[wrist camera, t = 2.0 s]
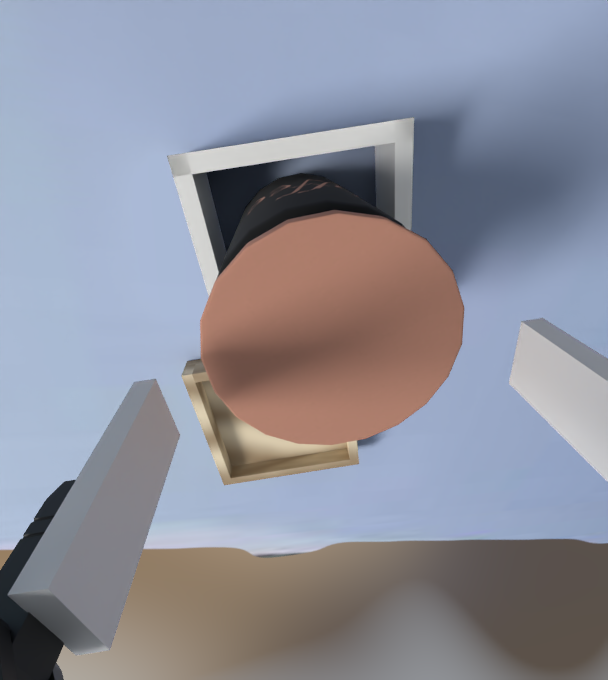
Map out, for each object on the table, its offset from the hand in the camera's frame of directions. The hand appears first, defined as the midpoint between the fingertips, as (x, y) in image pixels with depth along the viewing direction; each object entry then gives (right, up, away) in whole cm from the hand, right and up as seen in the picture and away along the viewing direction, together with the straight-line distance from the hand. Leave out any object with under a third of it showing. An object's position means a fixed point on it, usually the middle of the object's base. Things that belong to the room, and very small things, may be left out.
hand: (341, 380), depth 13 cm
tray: (-4, -6, +26) cm, 27 cm away
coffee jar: (-2, +10, +17) cm, 20 cm away
